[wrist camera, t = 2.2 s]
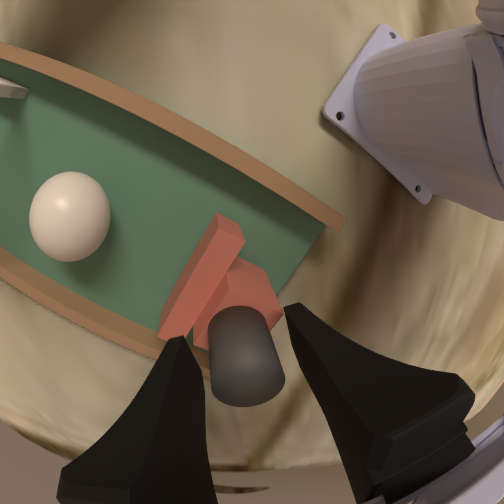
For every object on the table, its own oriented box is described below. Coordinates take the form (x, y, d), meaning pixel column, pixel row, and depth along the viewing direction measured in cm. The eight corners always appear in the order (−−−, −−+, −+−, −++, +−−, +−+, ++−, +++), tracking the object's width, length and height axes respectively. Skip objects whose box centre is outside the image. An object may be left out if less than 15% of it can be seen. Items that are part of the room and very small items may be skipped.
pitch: (327, 206, 16) (346, 219, 13) (221, 357, 19) (224, 383, 16) (2, 43, 8) (-19, 37, 6) (-49, 208, 11) (-70, 219, 9)
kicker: (280, 246, 15) (336, 331, 8) (221, 332, 16) (236, 435, 10) (216, 210, 13) (227, 283, 7) (162, 306, 15) (146, 411, 8)
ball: (133, 187, 13) (108, 207, 9) (104, 255, 14) (77, 293, 10) (69, 153, 11) (27, 163, 8) (46, 222, 12) (6, 250, 9)
